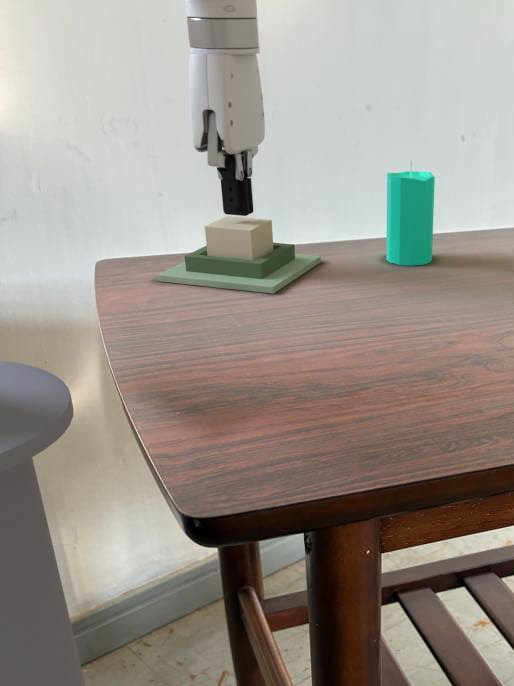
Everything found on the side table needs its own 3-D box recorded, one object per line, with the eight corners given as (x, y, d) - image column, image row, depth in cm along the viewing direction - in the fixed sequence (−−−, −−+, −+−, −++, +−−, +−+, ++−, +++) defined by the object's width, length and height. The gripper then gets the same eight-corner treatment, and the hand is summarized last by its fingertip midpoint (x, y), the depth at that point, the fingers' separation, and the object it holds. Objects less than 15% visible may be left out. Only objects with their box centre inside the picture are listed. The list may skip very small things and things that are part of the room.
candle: (387, 265, 112) (388, 164, 105) (385, 253, 117) (385, 157, 110) (434, 265, 112) (438, 165, 106) (429, 253, 117) (432, 157, 111)
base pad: (273, 293, 100) (272, 271, 99) (157, 281, 104) (154, 259, 102) (321, 262, 112) (320, 241, 111) (215, 252, 116) (213, 231, 115)
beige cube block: (253, 273, 104) (250, 230, 102) (208, 268, 106) (204, 226, 103) (274, 261, 109) (271, 219, 107) (230, 257, 111) (227, 216, 108)
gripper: (223, 34, 102) (237, 199, 112) (157, 39, 90) (179, 224, 99) (283, 36, 100) (292, 204, 110) (224, 41, 88) (239, 230, 98)
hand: (238, 213), depth 105 cm, fingers closed
